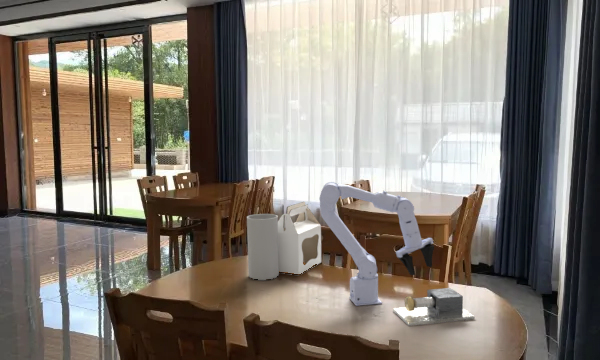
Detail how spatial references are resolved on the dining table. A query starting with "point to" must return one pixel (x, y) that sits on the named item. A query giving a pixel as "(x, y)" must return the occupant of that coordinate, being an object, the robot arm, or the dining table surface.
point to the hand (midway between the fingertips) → (421, 270)
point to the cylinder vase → (263, 246)
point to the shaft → (419, 302)
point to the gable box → (298, 240)
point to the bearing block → (437, 309)
